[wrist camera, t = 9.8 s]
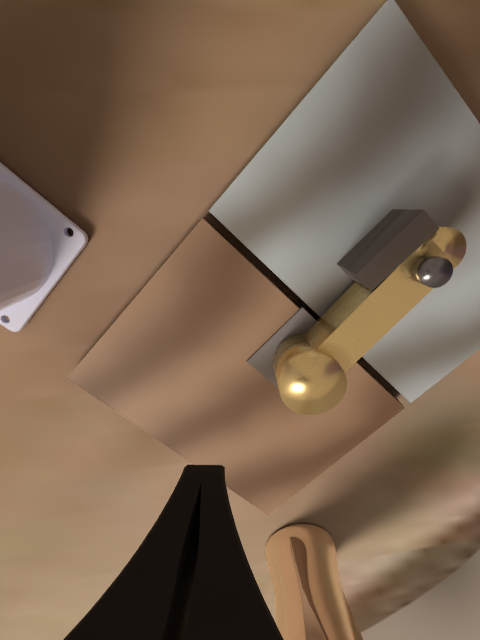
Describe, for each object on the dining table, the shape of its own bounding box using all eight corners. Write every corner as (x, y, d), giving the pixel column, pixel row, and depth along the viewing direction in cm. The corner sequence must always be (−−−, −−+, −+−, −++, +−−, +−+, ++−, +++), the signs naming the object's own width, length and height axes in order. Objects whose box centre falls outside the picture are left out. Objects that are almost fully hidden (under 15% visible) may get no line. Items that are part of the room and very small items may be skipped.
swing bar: (302, 396, 20) (315, 431, 17) (260, 364, 20) (266, 395, 16) (451, 250, 17) (501, 261, 14) (410, 206, 17) (452, 206, 13)
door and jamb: (75, 368, 21) (39, 406, 17) (379, 11, 15) (430, -59, 11) (266, 501, 26) (272, 555, 22) (560, 266, 20) (643, 281, 16)
